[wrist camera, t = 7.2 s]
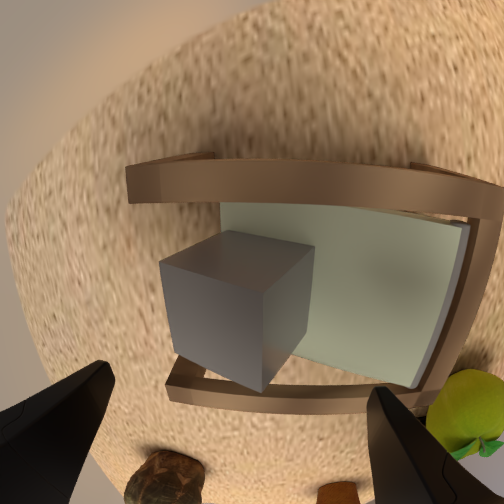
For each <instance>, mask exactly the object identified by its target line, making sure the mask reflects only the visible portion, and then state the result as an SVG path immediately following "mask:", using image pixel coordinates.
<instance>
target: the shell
mask: <svg viewBox="0 0 504 504" xmlns="http://www.w3.org/2000/svg"><path fill="white" fill-rule="evenodd" d="M204 481H205V473H204V470H203V468H202V465H201V464H200V463H199V461H197V460H194V459H191V458H189V457H186V456H183V455H181V454H178V453H175V452H171V451H160V452H153V453H152V454H151V455H150V456H149V457H148V459H147V460H146V462H145V463H144V464H143V465H141V467H140V468H139V470H137V471H136V472H135V474H133V475H132V476H131V478H130V480H129V482H128V483H127V486H126V489H125V492H124V501H125V504H201V503H202V497H201V491H202V489H203V485H204Z"/></svg>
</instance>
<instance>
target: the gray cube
mask: <svg viewBox="0 0 504 504" xmlns="http://www.w3.org/2000/svg"><path fill="white" fill-rule="evenodd" d="M314 256H315V246H312V245H306V244H301V243H296V242H291V241H285V240H280V239H275V238H269V237H264V236H259V235H253V234H248V233H242V232H237V231H231V230H226V231H223V232H221V233H219V234H217V235H215V236H212V237H210V238H208V239H206V240H204V241H202V242H199V243H197V244H195V245H193V246H191V247H189V248H186V249H184V250H182V251H180V252H178V253H176V254H174V255H172V256H169V257H167V258H165V259H163V260H161V261H159V267H160V274H161V281H162V287H163V293H164V299H165V305H166V311H167V316H168V322H169V327H170V332H171V337H172V342H173V347H174V352H175V353H177V354H179V355H181V356H183V357H184V358H186V359H188V360H190V361H192V362H194V363H196V364H198V365H200V366H202V367H204V368H206V369H208V370H210V371H212V372H215V373H217V374H219V375H221V376H223V377H225V378H227V379H230V380H232V381H234V382H236V383H239V384H241V385H243V386H245V387H248V388H250V389H252V390H255V391H257V392H260V393H262V392H263V391H264V389H265V388H266V387H267V386H268V384H269V383H270V382H271V380H272V379H273V378H274V376H275V375H276V374H277V373H278V371H279V370H280V369H281V367H282V366H283V365H284V363H285V362H286V361H287V359H288V358H289V356H290V355H291V354H292V352H293V351H294V350H295V348H296V347H297V345H298V344H299V343H300V341H301V340H302V338H303V337H304V336H305V334H306V333H307V326H308V317H309V308H310V299H311V289H312V279H313V268H314Z"/></svg>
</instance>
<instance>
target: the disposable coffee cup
mask: <svg viewBox="0 0 504 504" xmlns="http://www.w3.org/2000/svg"><path fill="white" fill-rule="evenodd" d="M316 504H360V501H359V497H358V493H357V488H356V484H355V483H352V482H337V483H331V484H327V485H325V486H322V487H320V488H319V489H318V496H317V502H316Z"/></svg>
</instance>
